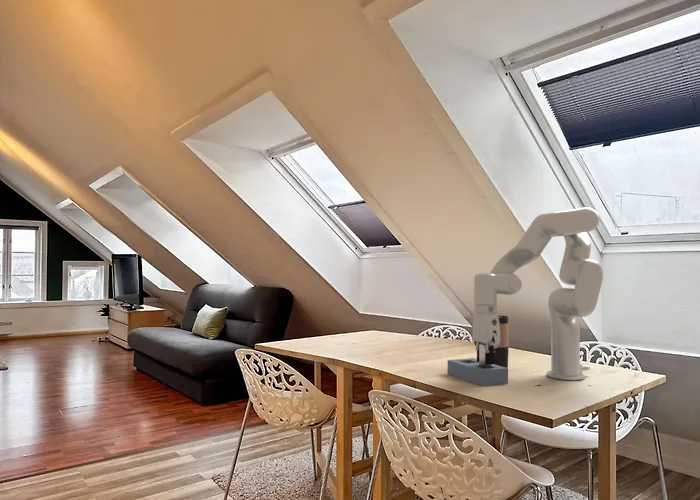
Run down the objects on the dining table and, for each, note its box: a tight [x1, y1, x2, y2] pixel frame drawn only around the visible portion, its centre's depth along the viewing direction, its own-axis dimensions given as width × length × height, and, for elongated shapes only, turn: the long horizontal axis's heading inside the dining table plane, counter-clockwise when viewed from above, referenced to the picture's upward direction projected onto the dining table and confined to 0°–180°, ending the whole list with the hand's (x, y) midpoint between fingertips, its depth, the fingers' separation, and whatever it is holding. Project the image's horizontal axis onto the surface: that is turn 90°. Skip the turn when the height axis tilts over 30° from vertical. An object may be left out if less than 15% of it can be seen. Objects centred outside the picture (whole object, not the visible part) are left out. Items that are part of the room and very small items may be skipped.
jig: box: [447, 357, 509, 387], centre depth 185 cm, size 11×20×5 cm, turn 22°
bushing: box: [479, 343, 491, 369], centre depth 180 cm, size 4×4×9 cm
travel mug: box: [494, 315, 510, 369], centre depth 203 cm, size 8×8×20 cm
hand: (485, 362), depth 180 cm, fingers closed on bushing, 3 cm apart
